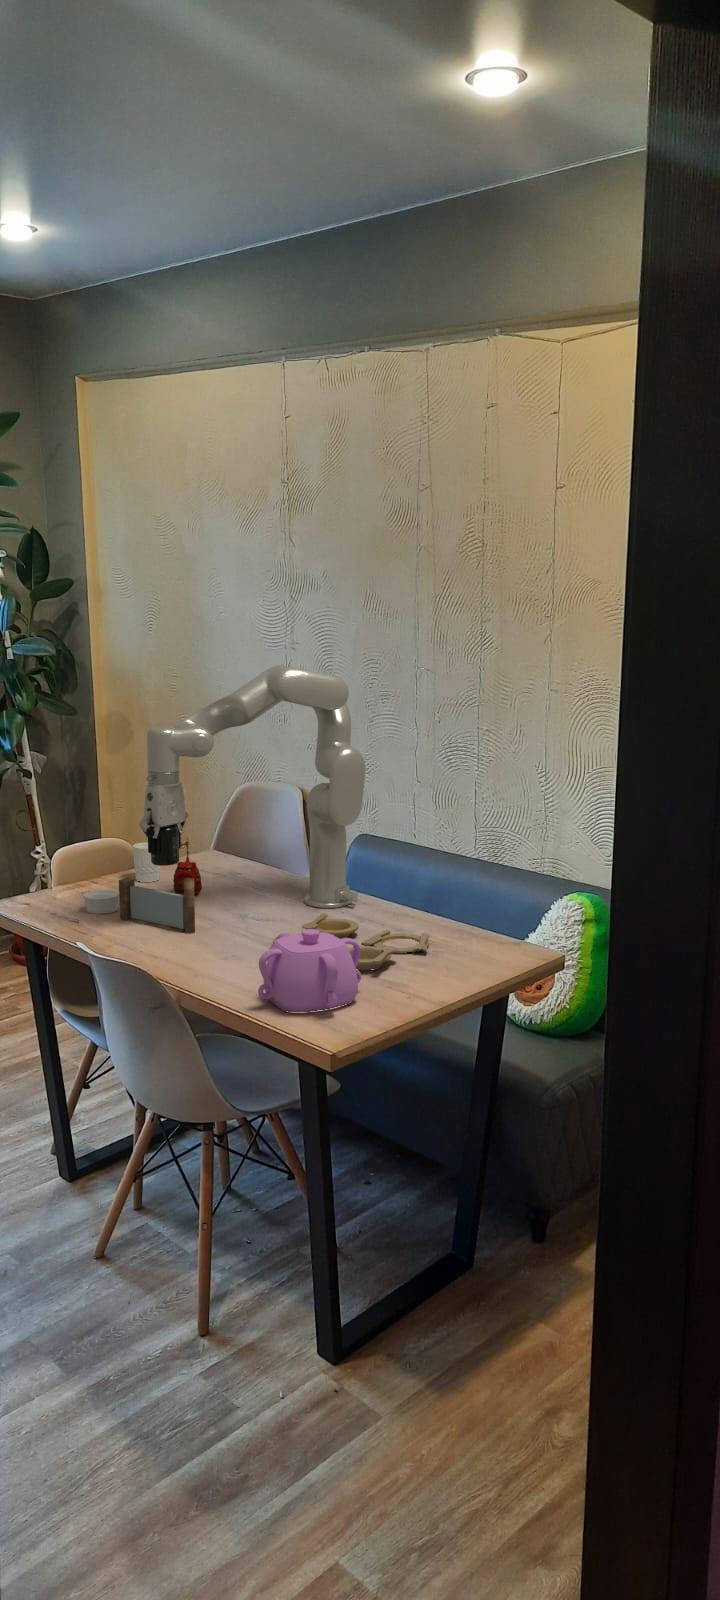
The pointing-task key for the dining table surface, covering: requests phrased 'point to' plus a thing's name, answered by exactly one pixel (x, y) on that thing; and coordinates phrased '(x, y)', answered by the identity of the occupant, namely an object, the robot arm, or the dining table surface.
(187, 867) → the red clay folk toy
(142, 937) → the dining table surface
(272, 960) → the purple lidded pot
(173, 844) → the supplement bottle
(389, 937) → the tableware set
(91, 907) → the ramekin
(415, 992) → the dining table surface
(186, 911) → the door frame
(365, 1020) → the dining table surface
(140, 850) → the white cup
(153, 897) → the door
